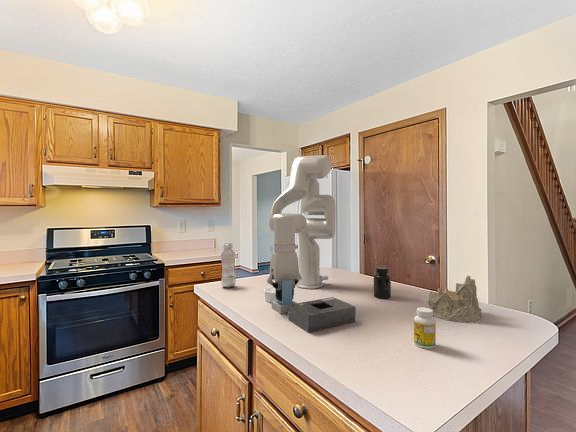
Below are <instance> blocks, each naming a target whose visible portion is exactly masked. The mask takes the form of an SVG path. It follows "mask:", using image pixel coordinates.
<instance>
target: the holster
mask: <svg viewBox="0 0 576 432" xmlns="http://www.w3.org/2000/svg"><path fill="white" fill-rule="evenodd" d="M296 303H297V301H294V299H292V304H296ZM289 305H291V304H288V305H280V304H278V303H277V300H276V301H272V303H271V309H272V310H274V311H276V312H277V313H279V314H281V315H282V314H286V313H288V314H289Z"/></svg>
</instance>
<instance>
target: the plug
mask: <svg viewBox="0 0 576 432" xmlns="http://www.w3.org/2000/svg"><path fill="white" fill-rule="evenodd" d="M281 290H282V301H278V300H277V303H278V304H280V305H288V304H292V300H293V299H292V280H285V281H282V283H281Z"/></svg>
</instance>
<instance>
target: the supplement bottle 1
mask: <svg viewBox="0 0 576 432" xmlns="http://www.w3.org/2000/svg"><path fill="white" fill-rule="evenodd" d="M391 279H392V277H391V275H390V274H389V268H388V267H385V266H378V267H375V274H374V275H373V297H374V298H376V299H379V300H380V299H381V300H387V299H388V300H389V299H391V297H392V280H391Z"/></svg>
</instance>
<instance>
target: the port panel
mask: <svg viewBox="0 0 576 432" xmlns="http://www.w3.org/2000/svg"><path fill="white" fill-rule="evenodd" d="M288 321H289V322H291V323H293V324H294V325H295V326H297V327H298V328H300V329H302V330H303V331H304V332H306V333H313V332H317V331H323V330H326V329H331V328H335V327H339V326H343V325H347V324H353V323H355V322H356V306H355V305H352V304H350V303H348V302H346V301H344V300H340V299H338V298H337V297H333V296H331V297H326V298H321V299H320V298H319V299H314V300H308V301H303V302H296V304H291V305H289V312H288Z"/></svg>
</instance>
